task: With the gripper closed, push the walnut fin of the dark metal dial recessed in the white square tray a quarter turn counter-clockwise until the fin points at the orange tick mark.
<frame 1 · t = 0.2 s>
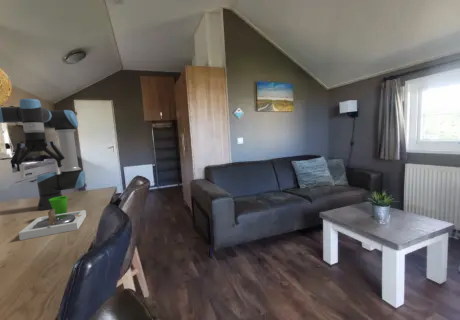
hand: (41, 176, 109), 27 cm above the table, fingers open, 13 cm apart
cup: (61, 216, 131), on the table
white square tray: (57, 226, 115), on the table
dial: (55, 215, 114), point 6 cm above the table, hinge at 0.0°
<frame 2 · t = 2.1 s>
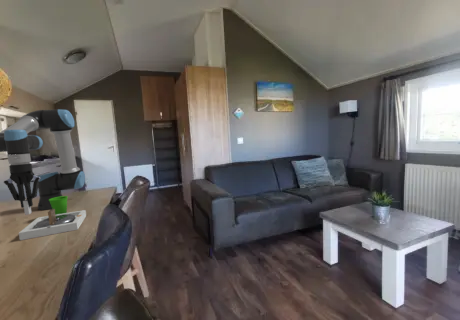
hand: (28, 213, 104), 11 cm above the table, fingers closed
nothing on the table moved.
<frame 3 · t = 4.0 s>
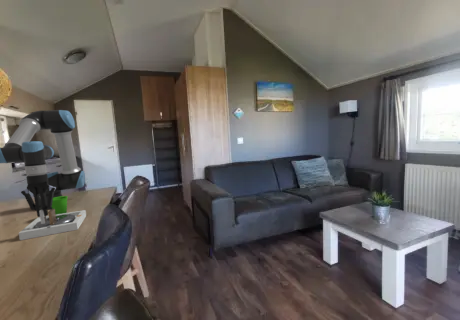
hand: (44, 222, 107), 5 cm above the table, fingers closed
dial: (55, 215, 114), point 6 cm above the table, hinge at 1.1°, touching gripper
everything else where it was.
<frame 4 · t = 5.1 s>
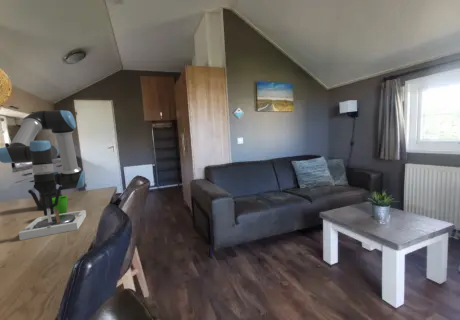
hand: (50, 221, 108), 5 cm above the table, fingers closed
dial: (55, 215, 114), point 6 cm above the table, hinge at 22.2°, touching gripper
everything else where it was.
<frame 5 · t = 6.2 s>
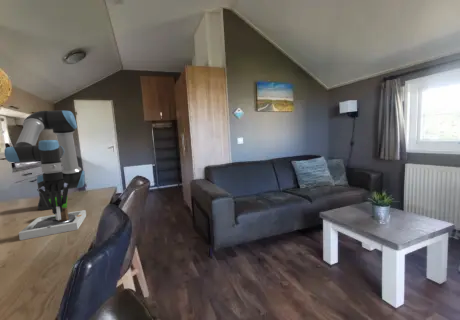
hand: (58, 219, 110), 5 cm above the table, fingers closed
dial: (55, 215, 114), point 6 cm above the table, hinge at 52.7°, touching gripper
everything else where it was.
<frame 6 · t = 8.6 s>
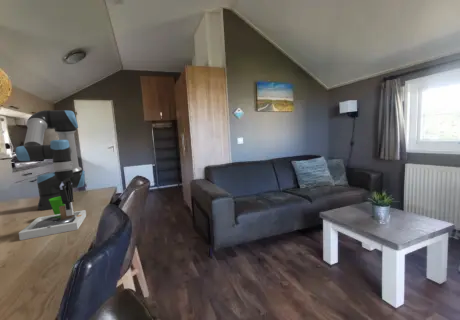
hand: (70, 215, 115), 5 cm above the table, fingers closed
dial: (55, 215, 114), point 6 cm above the table, hinge at 107.5°
everything else where it was.
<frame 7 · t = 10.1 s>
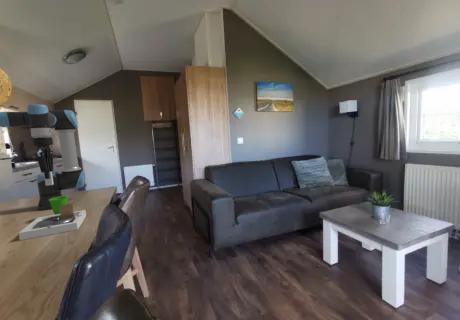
hand: (49, 184, 110), 22 cm above the table, fingers closed
nothing on the table moved.
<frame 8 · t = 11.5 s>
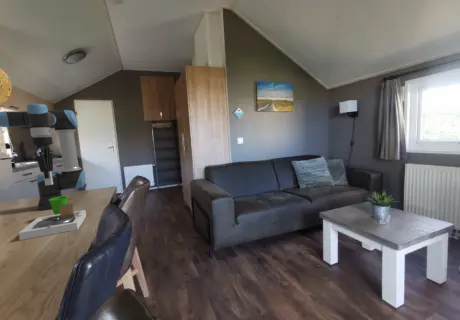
hand: (49, 184, 110), 22 cm above the table, fingers closed
nothing on the table moved.
at the end: dial at +108° (first picture: +0°) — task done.
